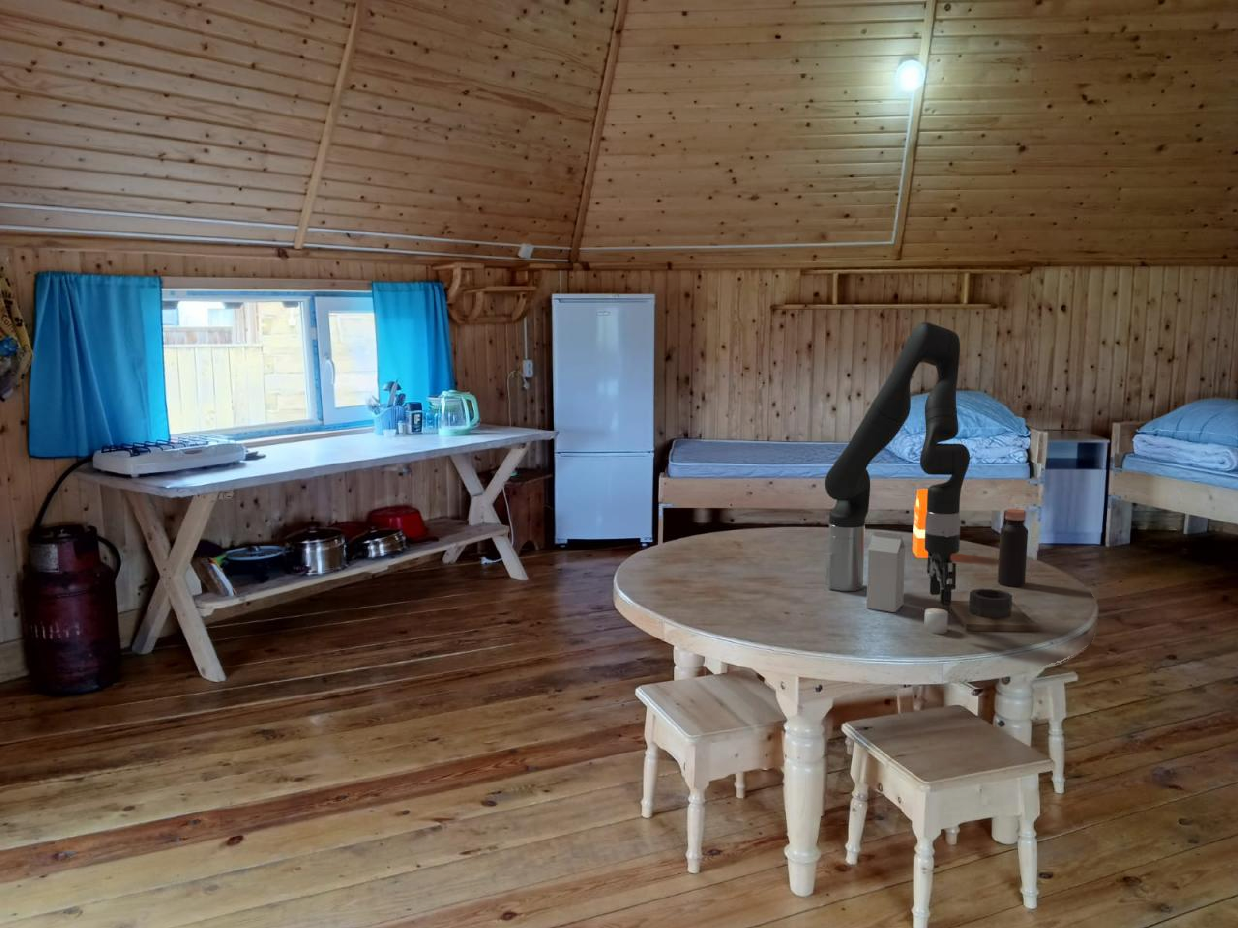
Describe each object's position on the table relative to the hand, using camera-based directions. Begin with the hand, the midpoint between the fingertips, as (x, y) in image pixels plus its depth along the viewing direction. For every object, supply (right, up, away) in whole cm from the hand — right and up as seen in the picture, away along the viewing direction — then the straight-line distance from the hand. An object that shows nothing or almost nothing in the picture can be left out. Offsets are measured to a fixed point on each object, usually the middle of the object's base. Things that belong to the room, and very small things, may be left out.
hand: (940, 599), depth 216 cm
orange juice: (+20, +4, +68) cm, 71 cm away
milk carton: (-8, -5, +18) cm, 20 cm away
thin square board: (+15, -6, +9) cm, 18 cm away
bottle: (+32, -1, +38) cm, 49 cm away
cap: (-1, -7, +1) cm, 7 cm away
